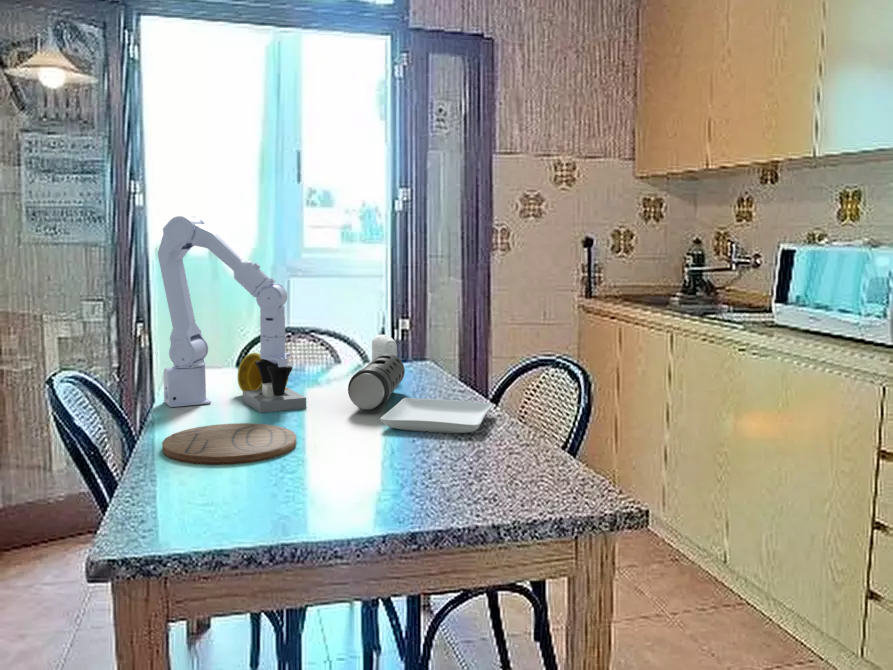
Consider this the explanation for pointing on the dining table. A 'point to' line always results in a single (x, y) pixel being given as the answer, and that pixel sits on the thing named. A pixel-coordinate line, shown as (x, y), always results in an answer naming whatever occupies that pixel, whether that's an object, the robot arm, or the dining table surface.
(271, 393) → the plug block
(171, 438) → the trivet
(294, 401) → the socket plate
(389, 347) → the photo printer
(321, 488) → the dining table surface
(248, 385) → the plant pot
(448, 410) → the salad plate
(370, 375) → the muzzle brake
